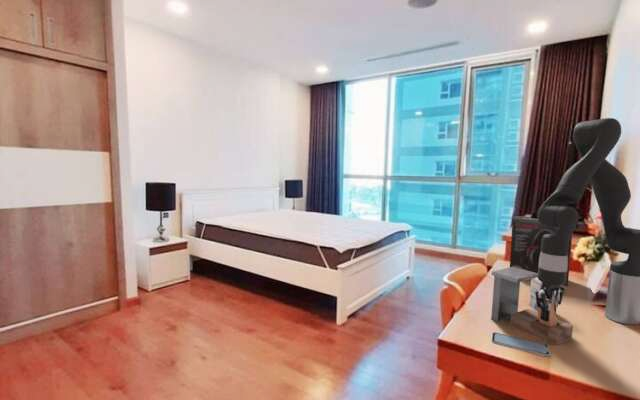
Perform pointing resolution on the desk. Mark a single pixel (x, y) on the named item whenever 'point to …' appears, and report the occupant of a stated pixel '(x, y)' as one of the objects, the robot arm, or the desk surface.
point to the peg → (552, 316)
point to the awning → (507, 291)
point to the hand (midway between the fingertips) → (547, 318)
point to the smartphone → (521, 344)
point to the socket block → (541, 327)
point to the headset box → (530, 243)
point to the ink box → (534, 287)
